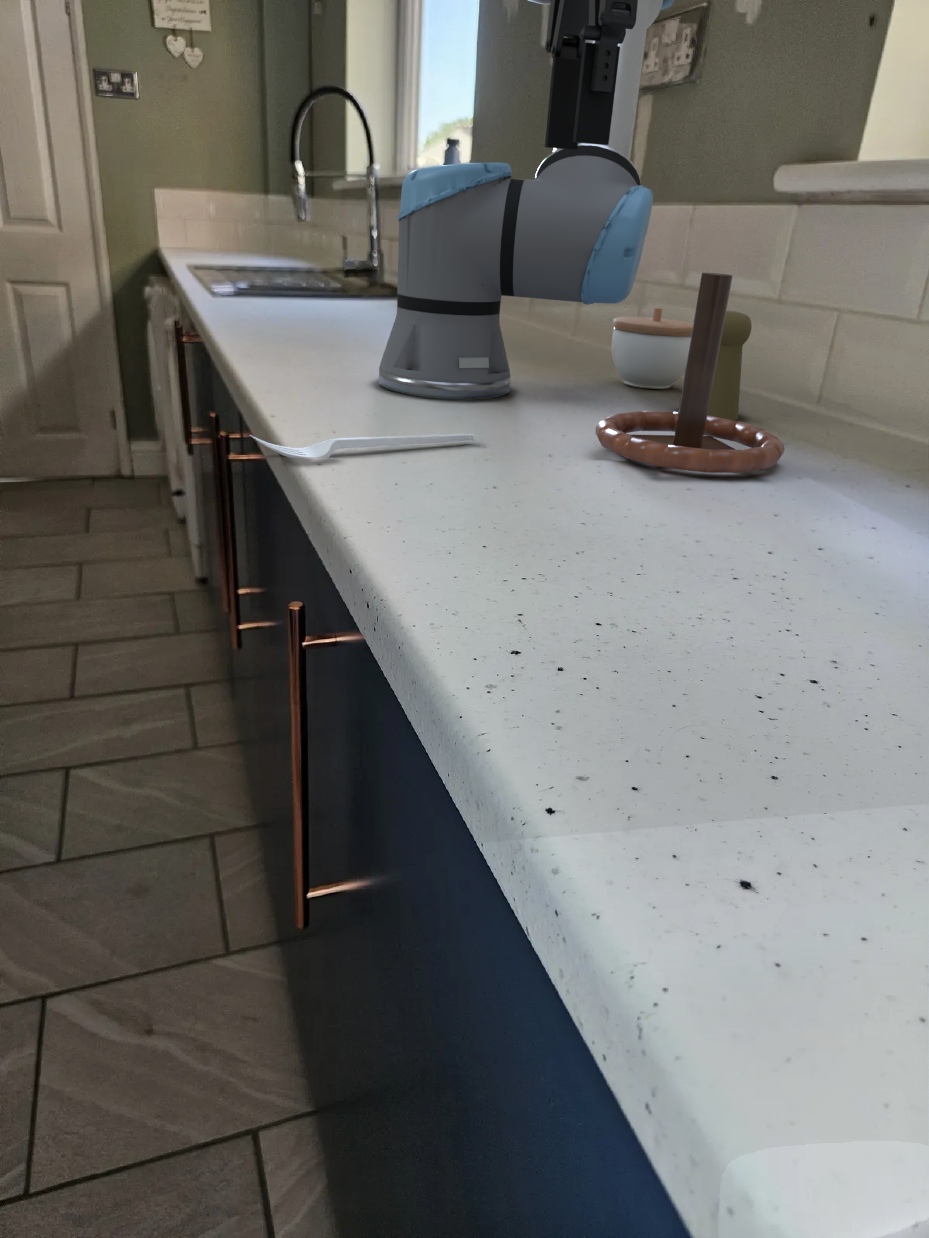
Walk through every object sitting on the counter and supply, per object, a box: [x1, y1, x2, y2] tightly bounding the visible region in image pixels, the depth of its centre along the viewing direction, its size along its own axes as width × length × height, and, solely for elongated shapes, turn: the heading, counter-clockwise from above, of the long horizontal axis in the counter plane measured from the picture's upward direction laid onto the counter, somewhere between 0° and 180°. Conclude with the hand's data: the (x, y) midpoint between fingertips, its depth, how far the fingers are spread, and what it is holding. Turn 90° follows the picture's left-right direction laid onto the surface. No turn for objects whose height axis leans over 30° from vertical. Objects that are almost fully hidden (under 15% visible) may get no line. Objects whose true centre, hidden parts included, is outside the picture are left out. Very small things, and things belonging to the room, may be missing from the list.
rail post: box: [630, 272, 737, 470], centre depth 73 cm, size 9×9×16 cm
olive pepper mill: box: [707, 309, 753, 421], centre depth 95 cm, size 6×6×11 cm
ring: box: [594, 410, 785, 474], centre depth 75 cm, size 16×16×2 cm
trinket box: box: [611, 307, 694, 390], centre depth 111 cm, size 11×11×9 cm
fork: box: [249, 432, 475, 459], centre depth 72 cm, size 3×20×2 cm, turn 122°
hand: (575, 145), depth 71 cm, fingers open, 7 cm apart
